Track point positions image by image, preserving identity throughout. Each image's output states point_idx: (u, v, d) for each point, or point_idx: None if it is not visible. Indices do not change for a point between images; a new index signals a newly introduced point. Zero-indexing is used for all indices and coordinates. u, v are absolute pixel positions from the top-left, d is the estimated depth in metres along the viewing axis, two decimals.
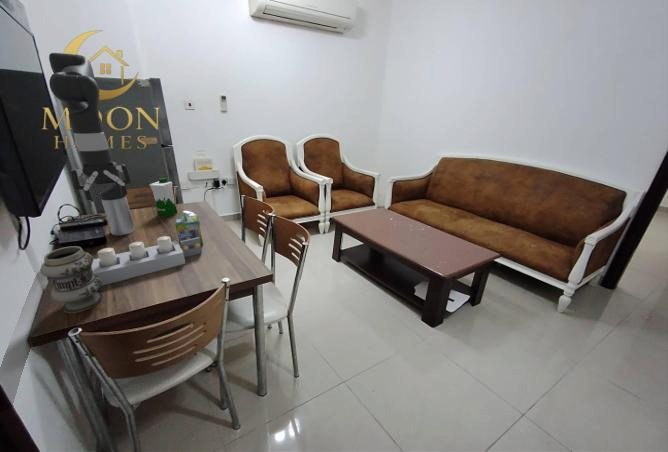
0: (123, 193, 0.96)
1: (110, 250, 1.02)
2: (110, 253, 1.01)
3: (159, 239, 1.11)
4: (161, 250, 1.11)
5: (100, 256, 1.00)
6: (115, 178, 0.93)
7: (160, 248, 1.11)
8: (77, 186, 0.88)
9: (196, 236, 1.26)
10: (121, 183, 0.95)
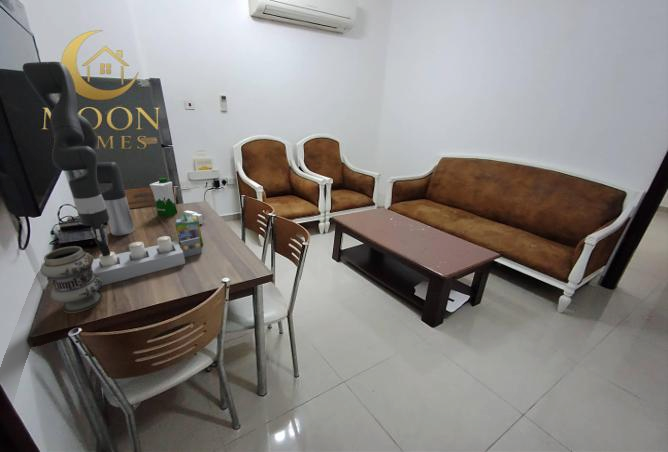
0: (109, 250, 1.03)
1: (111, 254, 1.03)
2: (111, 257, 1.02)
3: (159, 239, 1.11)
4: (161, 250, 1.11)
5: (101, 260, 1.01)
6: None
7: (160, 248, 1.11)
8: (106, 243, 0.99)
9: (196, 236, 1.26)
10: (107, 241, 1.02)
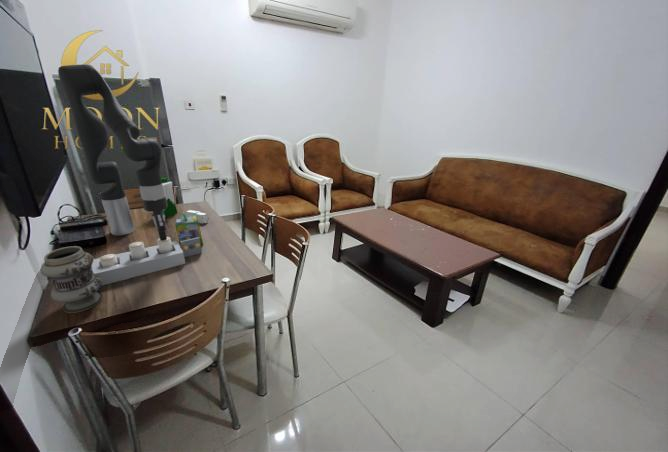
0: (165, 235, 1.12)
1: (112, 256, 1.03)
2: (112, 259, 1.02)
3: (159, 240, 1.11)
4: (161, 251, 1.11)
5: (102, 262, 1.01)
6: None
7: (160, 249, 1.11)
8: None
9: (196, 236, 1.26)
10: None
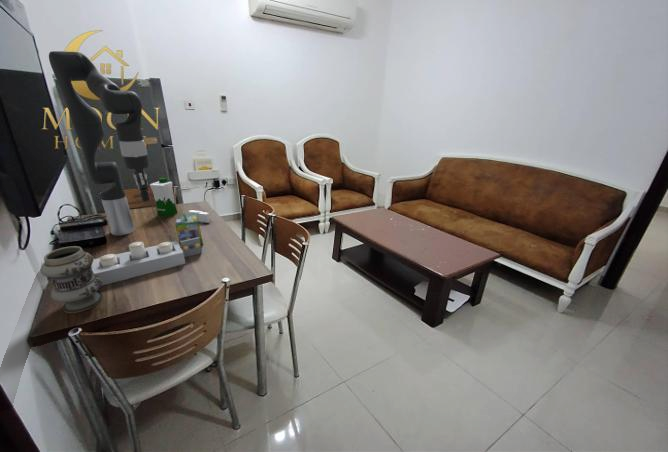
0: None
1: (112, 256, 1.03)
2: (112, 259, 1.02)
3: (160, 245, 1.12)
4: None
5: (102, 262, 1.01)
6: None
7: None
8: (147, 187, 1.05)
9: (196, 236, 1.26)
10: None
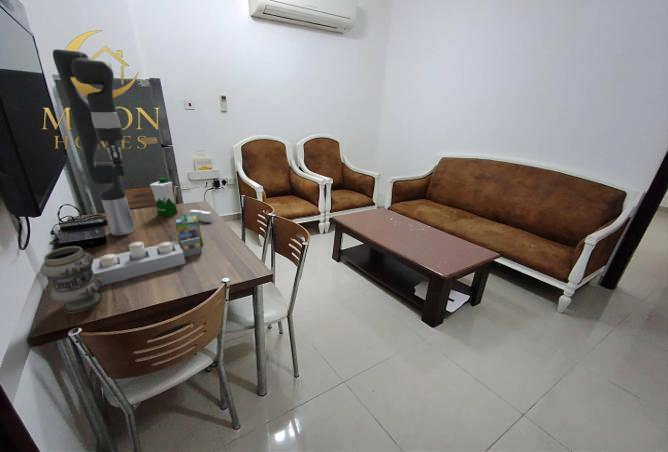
0: (123, 171, 1.07)
1: (112, 256, 1.03)
2: (112, 259, 1.02)
3: (160, 245, 1.12)
4: None
5: (102, 262, 1.01)
6: None
7: None
8: None
9: (196, 236, 1.26)
10: None
